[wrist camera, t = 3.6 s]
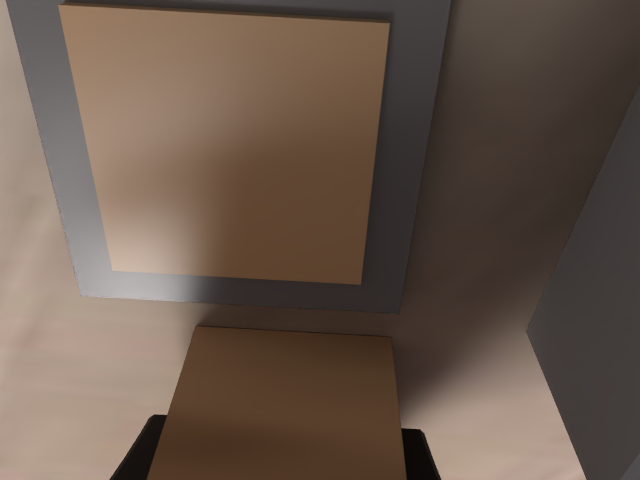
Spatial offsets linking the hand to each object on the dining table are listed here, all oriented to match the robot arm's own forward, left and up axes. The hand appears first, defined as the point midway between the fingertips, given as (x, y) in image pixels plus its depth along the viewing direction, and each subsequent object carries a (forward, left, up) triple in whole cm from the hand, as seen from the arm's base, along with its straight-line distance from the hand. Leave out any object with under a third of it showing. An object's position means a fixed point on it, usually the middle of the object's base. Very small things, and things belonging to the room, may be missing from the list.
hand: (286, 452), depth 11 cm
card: (+6, +1, -1) cm, 6 cm away
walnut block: (0, 0, -1) cm, 1 cm away
